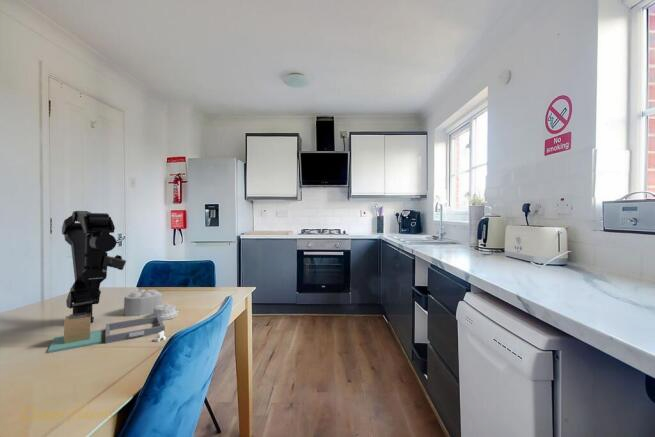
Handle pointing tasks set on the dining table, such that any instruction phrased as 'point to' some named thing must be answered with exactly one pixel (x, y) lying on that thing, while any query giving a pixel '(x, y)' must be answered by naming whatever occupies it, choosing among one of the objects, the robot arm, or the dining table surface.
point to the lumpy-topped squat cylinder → (141, 302)
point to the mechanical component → (165, 311)
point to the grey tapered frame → (137, 332)
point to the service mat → (59, 342)
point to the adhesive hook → (160, 336)
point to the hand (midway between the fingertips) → (95, 295)
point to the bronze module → (77, 327)
